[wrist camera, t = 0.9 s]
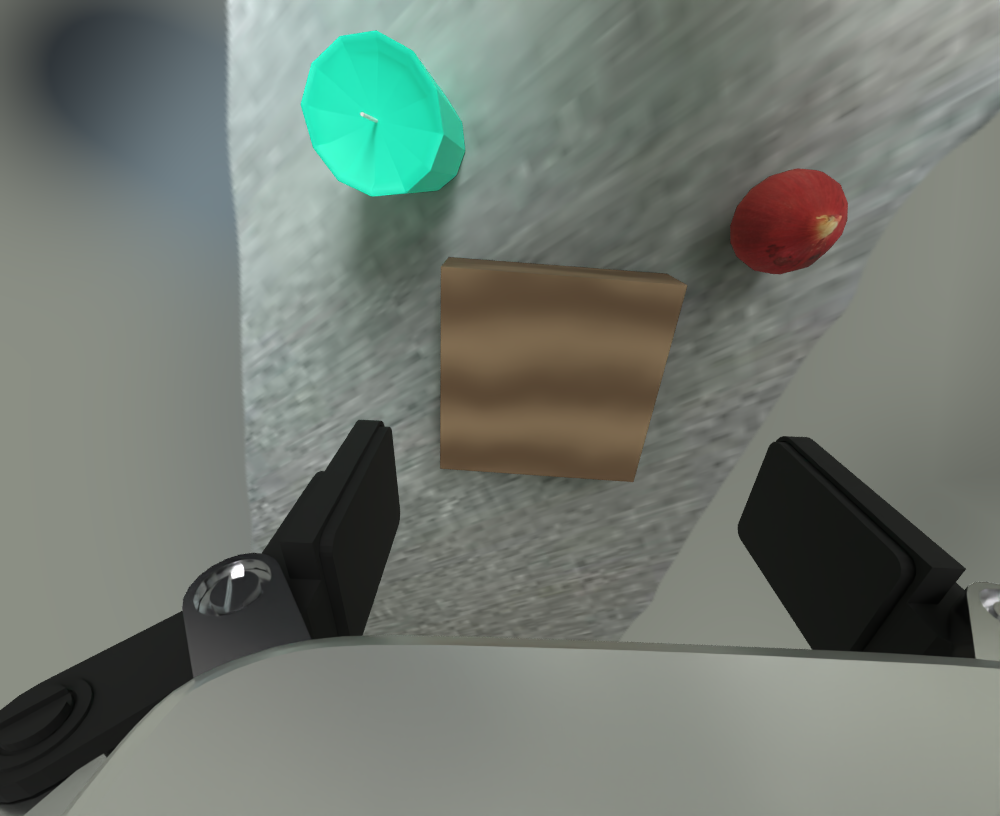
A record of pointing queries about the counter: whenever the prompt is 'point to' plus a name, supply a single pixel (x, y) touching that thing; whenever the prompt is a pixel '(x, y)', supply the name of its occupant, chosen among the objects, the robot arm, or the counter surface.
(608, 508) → the counter surface
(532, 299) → the walnut base
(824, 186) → the onion
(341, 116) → the candle
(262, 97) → the counter surface
